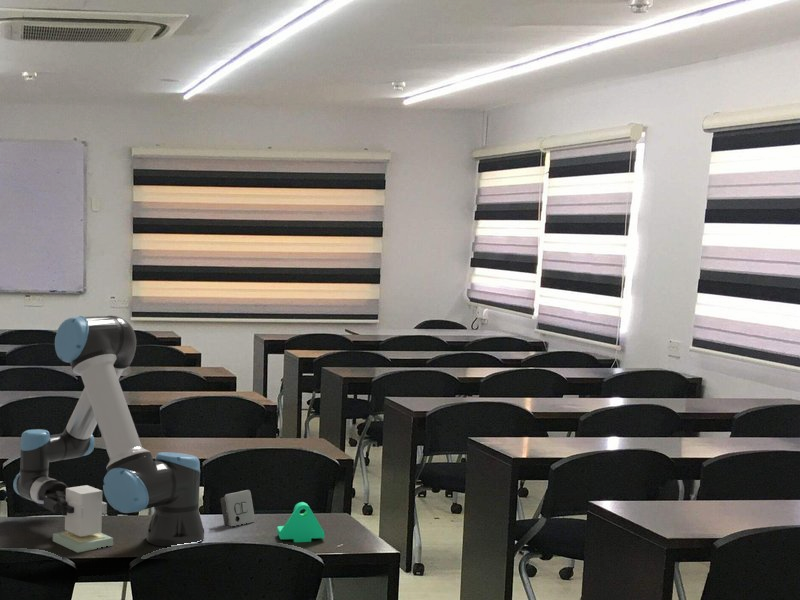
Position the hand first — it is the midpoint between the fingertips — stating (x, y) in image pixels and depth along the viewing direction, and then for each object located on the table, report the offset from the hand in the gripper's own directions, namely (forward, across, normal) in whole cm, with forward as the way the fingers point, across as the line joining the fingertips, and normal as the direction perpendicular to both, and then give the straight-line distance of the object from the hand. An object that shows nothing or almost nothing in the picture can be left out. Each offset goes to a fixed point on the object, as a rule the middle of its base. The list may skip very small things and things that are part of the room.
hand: (93, 510), depth 257 cm
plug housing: (-5, 0, -6) cm, 8 cm away
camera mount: (+26, -48, -10) cm, 56 cm away
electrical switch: (+4, -43, -10) cm, 44 cm away
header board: (-5, 0, -10) cm, 11 cm away
